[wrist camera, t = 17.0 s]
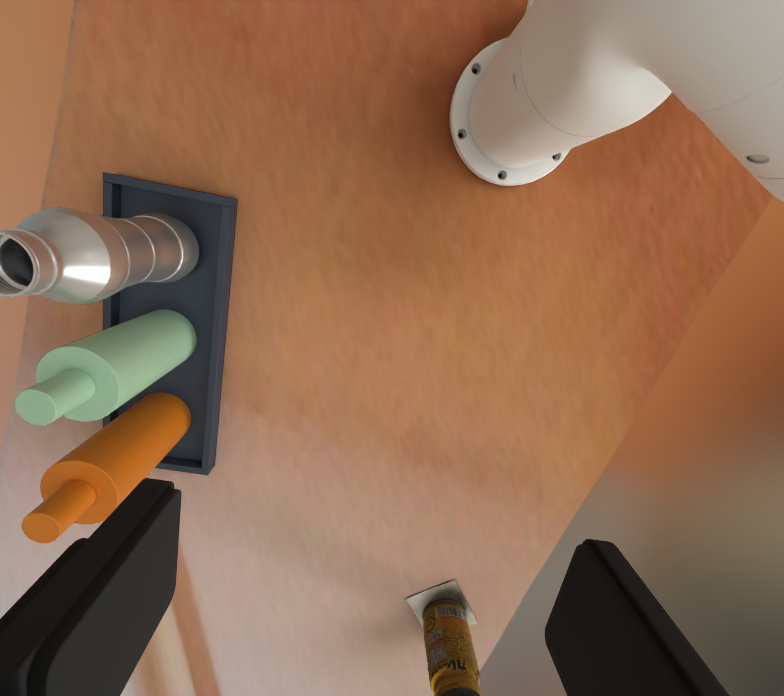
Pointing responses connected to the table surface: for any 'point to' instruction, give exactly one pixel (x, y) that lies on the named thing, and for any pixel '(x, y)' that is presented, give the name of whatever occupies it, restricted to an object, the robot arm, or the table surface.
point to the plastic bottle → (92, 254)
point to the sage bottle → (106, 368)
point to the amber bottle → (107, 466)
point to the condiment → (448, 640)
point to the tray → (182, 307)
